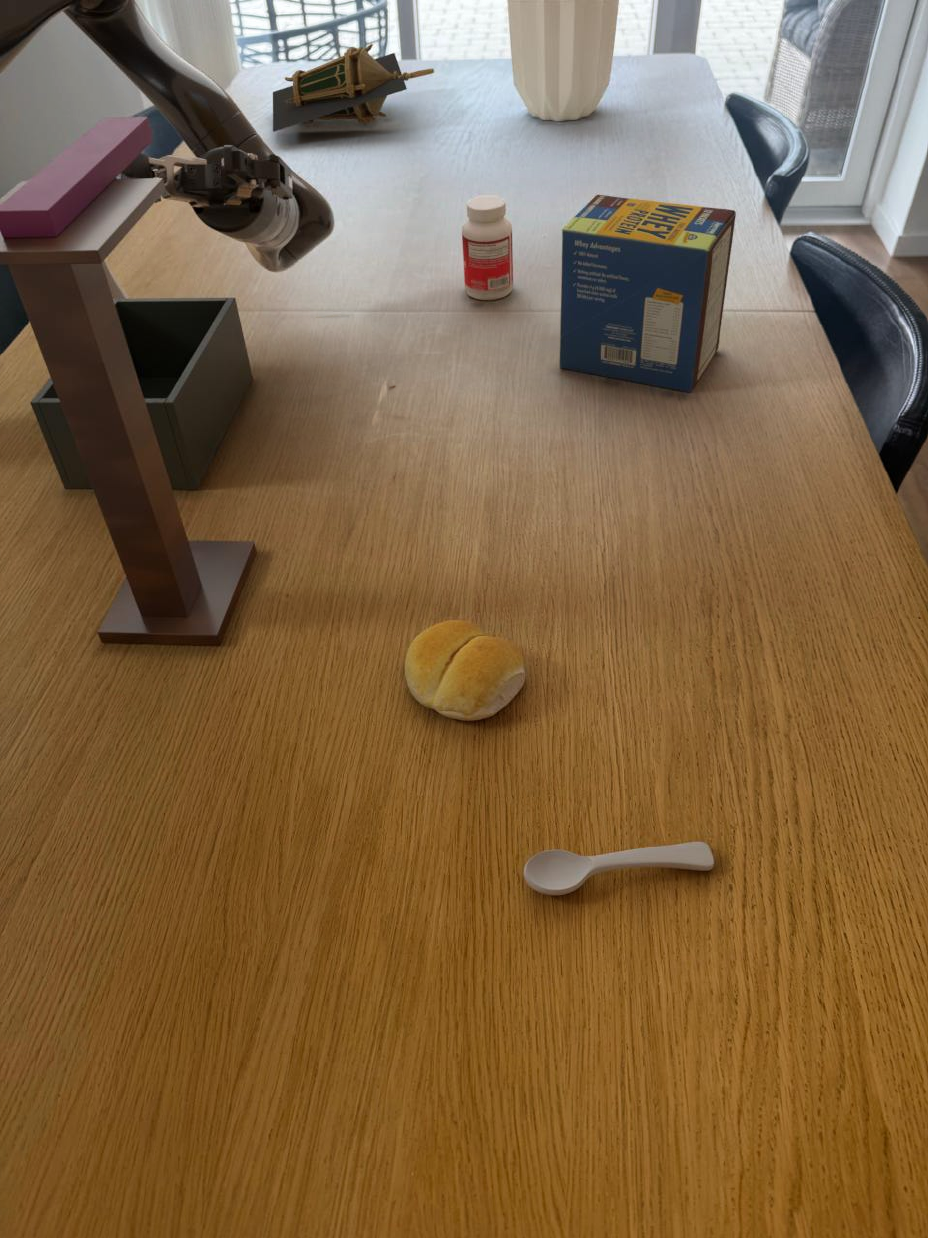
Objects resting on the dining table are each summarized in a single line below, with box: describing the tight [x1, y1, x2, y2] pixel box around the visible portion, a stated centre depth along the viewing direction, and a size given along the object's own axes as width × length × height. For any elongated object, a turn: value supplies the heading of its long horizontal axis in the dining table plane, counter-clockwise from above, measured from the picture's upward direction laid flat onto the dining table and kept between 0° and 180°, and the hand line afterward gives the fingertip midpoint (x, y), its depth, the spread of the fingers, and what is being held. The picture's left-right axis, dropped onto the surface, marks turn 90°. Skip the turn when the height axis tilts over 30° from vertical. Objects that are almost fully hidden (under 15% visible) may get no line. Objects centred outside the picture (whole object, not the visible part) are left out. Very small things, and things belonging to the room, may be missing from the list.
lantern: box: [272, 43, 435, 133], centre depth 175 cm, size 14×23×30 cm
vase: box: [507, 0, 620, 122], centre depth 167 cm, size 20×20×27 cm
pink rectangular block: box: [0, 116, 155, 238], centre depth 64 cm, size 3×18×2 cm, turn 175°
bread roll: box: [404, 619, 527, 722], centre depth 72 cm, size 8×9×4 cm
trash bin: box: [29, 297, 254, 491], centre depth 99 cm, size 14×22×10 cm, turn 175°
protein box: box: [558, 194, 737, 393], centre depth 103 cm, size 10×15×16 cm
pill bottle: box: [461, 194, 514, 301], centre depth 119 cm, size 6×6×11 cm
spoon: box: [522, 841, 715, 896], centre depth 60 cm, size 3×12×2 cm, turn 97°
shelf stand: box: [0, 178, 258, 647], centre depth 71 cm, size 10×12×32 cm
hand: (177, 159), depth 79 cm, fingers open, 8 cm apart
